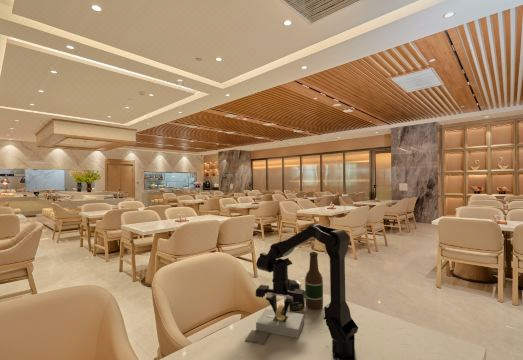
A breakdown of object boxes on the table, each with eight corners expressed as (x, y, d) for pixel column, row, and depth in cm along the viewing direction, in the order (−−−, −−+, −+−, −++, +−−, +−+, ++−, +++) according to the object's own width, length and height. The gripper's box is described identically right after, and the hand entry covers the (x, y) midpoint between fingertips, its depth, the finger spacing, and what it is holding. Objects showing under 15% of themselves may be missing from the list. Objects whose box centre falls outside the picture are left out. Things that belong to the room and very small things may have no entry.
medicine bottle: (289, 313, 118) (289, 285, 118) (283, 306, 125) (283, 279, 125) (305, 311, 120) (304, 283, 120) (298, 304, 127) (298, 277, 127)
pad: (269, 333, 102) (269, 332, 102) (263, 344, 96) (263, 343, 96) (251, 330, 104) (251, 329, 104) (244, 341, 98) (244, 339, 98)
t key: (286, 322, 110) (286, 304, 111) (282, 331, 104) (282, 312, 104) (279, 321, 112) (278, 303, 112) (274, 330, 105) (274, 311, 105)
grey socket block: (303, 321, 111) (303, 313, 111) (298, 337, 99) (298, 329, 99) (265, 315, 116) (265, 308, 116) (256, 330, 104) (256, 322, 104)
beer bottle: (323, 311, 120) (322, 255, 120) (304, 309, 121) (304, 254, 121) (322, 303, 127) (322, 250, 128) (305, 301, 129) (305, 250, 129)
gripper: (307, 270, 112) (308, 309, 112) (263, 266, 118) (264, 303, 118) (302, 280, 102) (303, 322, 102) (254, 275, 108) (255, 315, 108)
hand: (280, 315), depth 108 cm, fingers closed on t key, 3 cm apart
